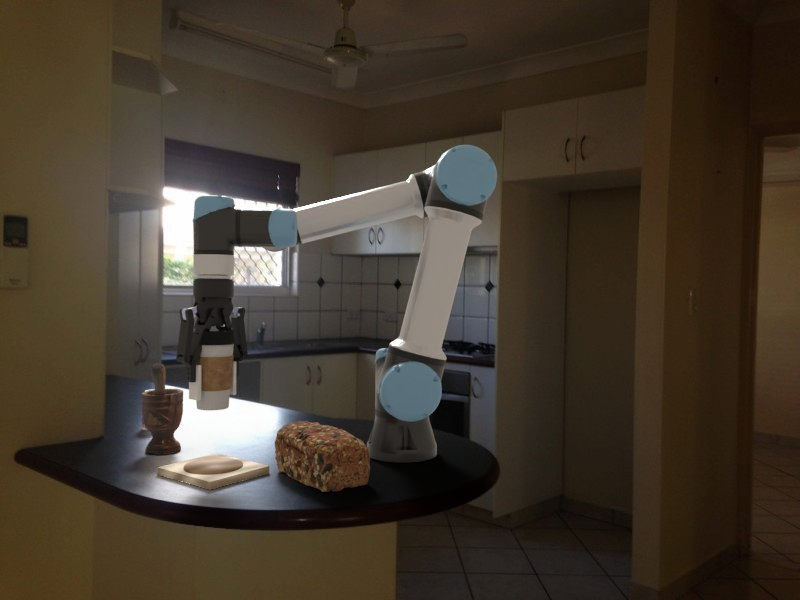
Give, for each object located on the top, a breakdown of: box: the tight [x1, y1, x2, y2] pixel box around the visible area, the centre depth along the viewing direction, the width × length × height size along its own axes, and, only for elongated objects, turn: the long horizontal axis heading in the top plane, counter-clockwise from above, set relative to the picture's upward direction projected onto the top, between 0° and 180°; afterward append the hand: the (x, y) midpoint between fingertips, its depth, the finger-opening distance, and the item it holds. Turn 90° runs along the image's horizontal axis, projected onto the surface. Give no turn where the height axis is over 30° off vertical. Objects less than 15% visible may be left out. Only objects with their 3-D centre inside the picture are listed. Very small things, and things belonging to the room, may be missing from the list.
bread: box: [274, 420, 371, 493], centre depth 131 cm, size 19×11×10 cm, turn 37°
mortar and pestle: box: [140, 362, 184, 456], centre depth 149 cm, size 12×9×20 cm
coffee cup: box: [193, 330, 236, 411], centre depth 132 cm, size 8×8×15 cm
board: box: [156, 452, 270, 491], centre depth 133 cm, size 16×14×2 cm
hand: (213, 396), depth 133 cm, fingers closed on coffee cup, 7 cm apart
